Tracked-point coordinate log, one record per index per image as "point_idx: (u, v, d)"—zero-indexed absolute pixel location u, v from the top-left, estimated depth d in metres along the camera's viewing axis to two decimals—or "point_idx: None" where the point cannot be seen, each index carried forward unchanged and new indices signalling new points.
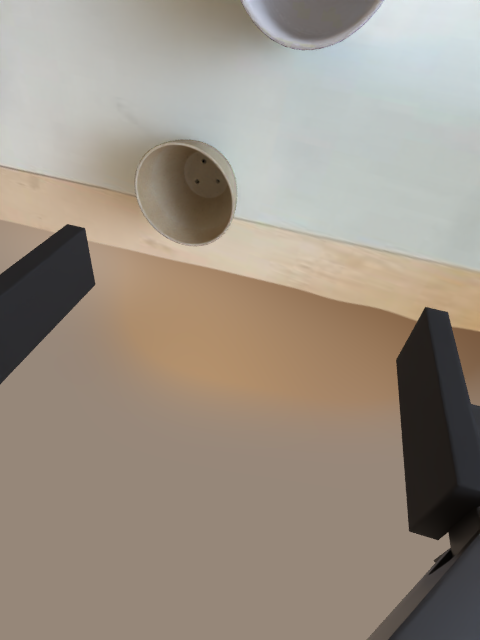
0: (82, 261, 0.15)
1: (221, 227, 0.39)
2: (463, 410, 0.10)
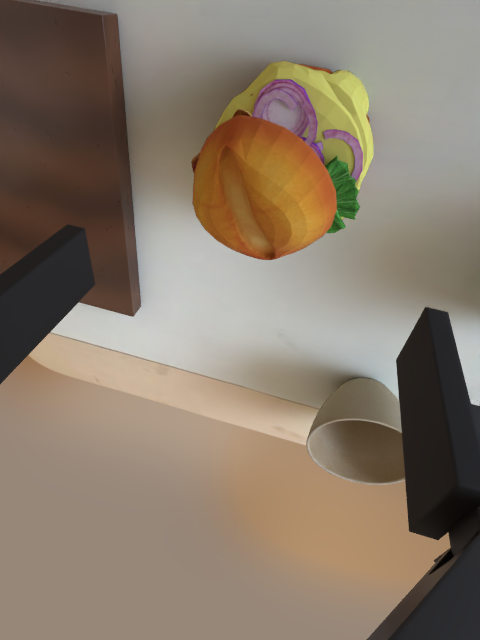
0: (82, 261, 0.15)
1: (389, 467, 0.37)
2: (463, 410, 0.10)
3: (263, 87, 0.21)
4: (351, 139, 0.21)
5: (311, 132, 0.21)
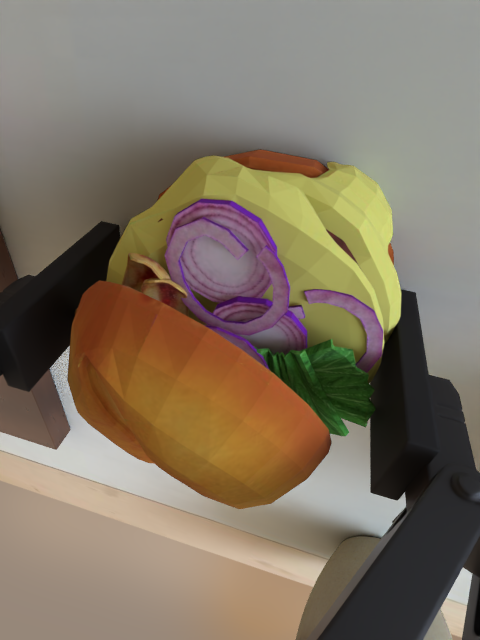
0: None
1: None
2: (420, 378, 0.11)
3: (181, 209, 0.10)
4: (360, 306, 0.11)
5: (278, 300, 0.10)
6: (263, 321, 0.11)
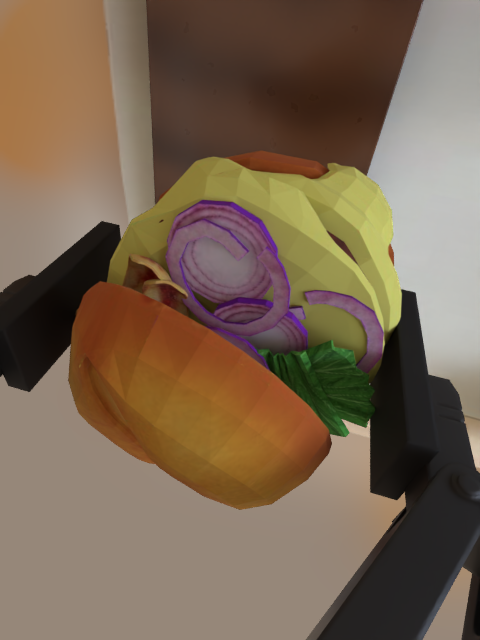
0: None
1: None
2: (420, 378, 0.11)
3: (181, 210, 0.10)
4: (360, 307, 0.11)
5: (279, 301, 0.10)
6: (264, 322, 0.11)
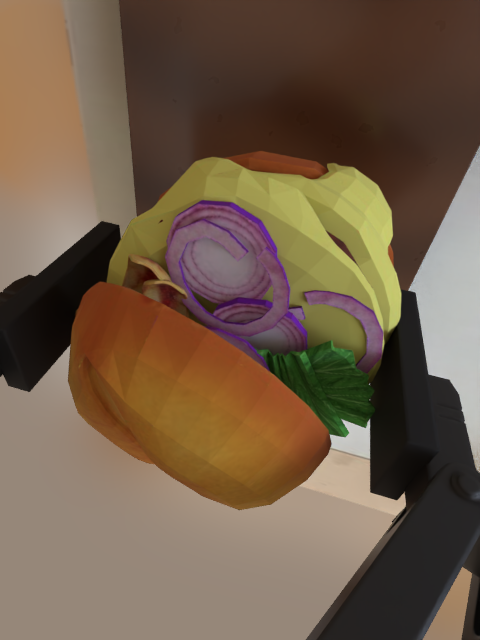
0: None
1: None
2: (420, 378, 0.11)
3: (181, 210, 0.10)
4: (360, 307, 0.11)
5: (278, 301, 0.10)
6: (263, 322, 0.11)
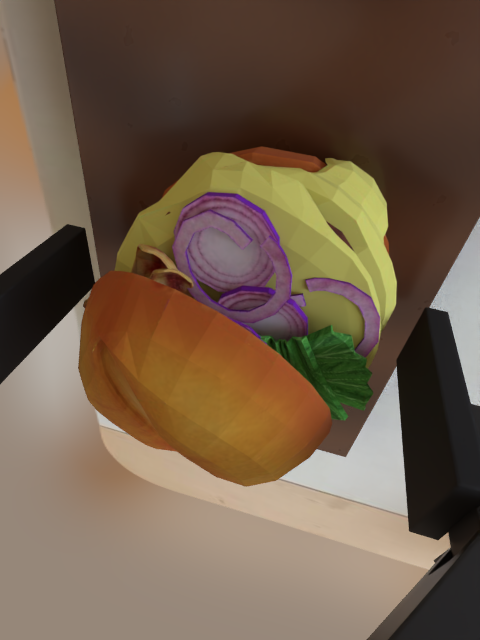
0: (82, 261, 0.15)
1: None
2: (463, 410, 0.10)
3: (187, 202, 0.11)
4: (358, 294, 0.11)
5: (281, 288, 0.11)
6: (266, 309, 0.12)
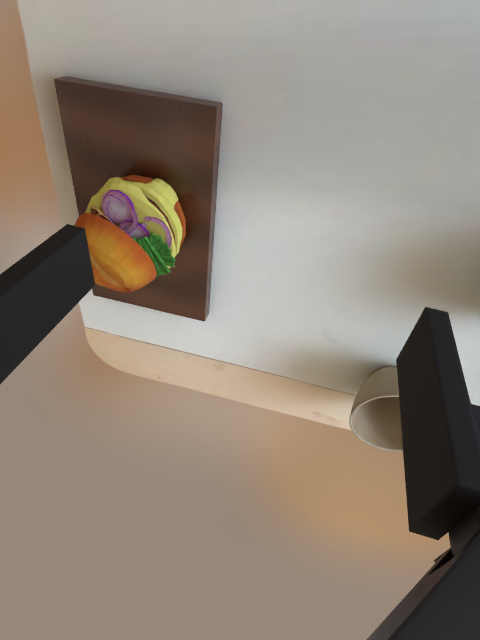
0: (82, 261, 0.15)
1: None
2: (463, 410, 0.10)
3: (105, 193, 0.35)
4: (161, 221, 0.36)
5: (134, 219, 0.35)
6: (132, 227, 0.36)
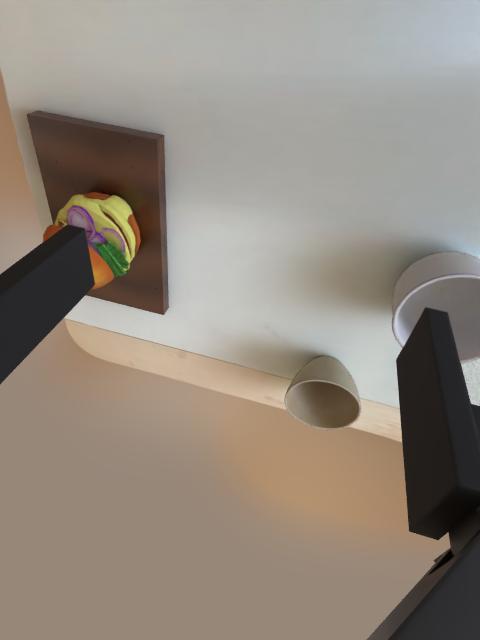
0: (82, 261, 0.15)
1: (342, 417, 0.53)
2: (463, 410, 0.10)
3: (69, 207, 0.43)
4: (115, 232, 0.43)
5: (93, 229, 0.43)
6: (92, 236, 0.43)
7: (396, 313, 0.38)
